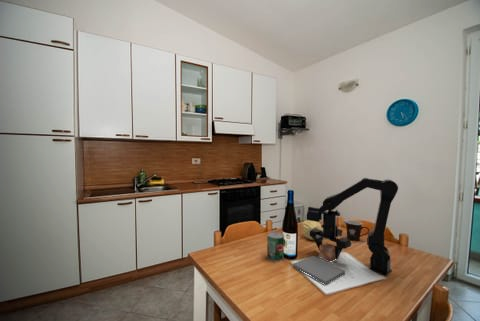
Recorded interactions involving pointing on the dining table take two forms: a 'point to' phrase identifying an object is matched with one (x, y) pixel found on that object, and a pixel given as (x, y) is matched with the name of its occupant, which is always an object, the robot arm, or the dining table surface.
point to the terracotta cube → (327, 251)
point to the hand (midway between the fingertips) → (328, 255)
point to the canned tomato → (275, 246)
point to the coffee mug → (354, 230)
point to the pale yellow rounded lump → (310, 228)
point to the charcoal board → (319, 269)
